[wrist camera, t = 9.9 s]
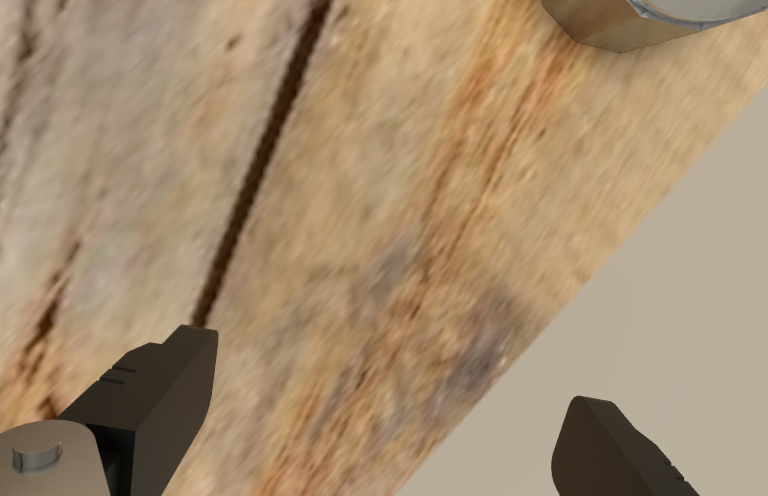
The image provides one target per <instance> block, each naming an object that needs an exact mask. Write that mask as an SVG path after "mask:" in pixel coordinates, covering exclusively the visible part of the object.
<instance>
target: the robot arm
mask: <svg viewBox="0 0 768 496" xmlns="http://www.w3.org/2000/svg"><path fill="white" fill-rule="evenodd" d="M217 348H218V332H217V330H211V329H206V328H200V327H194V326H189V325H180V326H179V327H178V328H177V329H176V330H175V331H174V332H173V333H172V334H171V335H170V336H169V337H168V338H167V339H166V341H165V342H164V343H163V344H157V343H151V342H150V343H147V344H145V345H143V346H141V347H138V348H136V349H134V350H131V351H129V352H127V353H126V354H125V355H124V356H123V357H122V358H121V359H120V360H118V361H117V362H116V363H115V364H114V365H113V366H112V369H109V370H108V371H107V372H105V373H104V374H103V375H102V376H101V377H100V380H99V381H96V382H95V383H93V384H92V385H91V386H90V387H89V388H88V389H87V390H86V391H85V392H84V393H83V394H82V395H80V396H79V397H78V398H77V399H76V400H75V401H74V402H73V403H72V404H71V405H70V406H69V407H67V408H66V409H65V410H64V411H63V412H62V413H61V414H60V415H59V416H58V417H57V418H56V419H54V420H44V421H37V422H32V423H27V424H24V425H20V426H17V427H14V428H12V429H10V430H7V431H5V432H3V433H1V434H0V496H161V495H162V493H163V491H164V490H165V488H166V486H167V485H168V483H169V481H170V479H171V478H172V476H173V474H174V473H175V471H176V469H177V467H178V466H179V464H180V462H181V460H182V459H183V457H184V455H185V454H186V452H187V450H188V448H189V447H190V445H191V443H192V442H193V440H194V438H195V436H196V435H197V433H198V431H199V429H200V428H201V426H202V424H203V422H204V420H205V417H206V415H207V412H208V409H209V405H210V401H211V396H212V388H213V380H214V372H215V364H216V356H217ZM551 470H552V477H553V481H554V484H555V487H556V489H557V491H558V493H559V495H560V496H699V495H698V493H697V492H696V491H695V490H694V489H693V488H692V486H691V485H690V484H689V483H688V482H686V481H684V477H683V476H682V475H681V473H680V472H679V471H678V470H677V469H676V468H675V466H671V462H670V461H669V459H668V458H667V457H666V456H665V455H664V453H663V452H662V451H661V450H660V449H659V448H658V446H657V445H656V444H654V443H653V442H652V441H650V440H649V439H648V438H647V437H645V436H644V435H643V434H641V433H640V432H639V431H638V430H636V429H635V428H634V427H633V426H632V424H631V423H630V422H629V421H628V419H627V418H626V417H625V416H624V415H623V414H622V412H621V411H620V410H619V409H618V407H617V406H616V405H615V404H614V403H612V402H611V401H606V400H600V399H594V398H589V397H584V396H576V397H574V398H573V399H572V401H571V403H570V405H569V407H568V410H567V413H566V416H565V419H564V422H563V425H562V428H561V431H560V434H559V437H558V440H557V443H556V446H555V449H554V452H553V456H552V463H551Z"/></svg>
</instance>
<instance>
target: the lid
mask: <svg viewBox="0 0 768 496" xmlns="http://www.w3.org/2000/svg"><path fill="white" fill-rule="evenodd" d="M633 1H634V2H636V3H637V4H638V5H640V6H641V7H642V8H644V9H645V10H647V11H649V12H651V13H653V14H655V15H657V16H659V17H662V18H665V19H668V20H671V21H676V22H682V23H699V24H701V23H710V22H717V21H721V20H725V19H729V18H732V17H736V16H739V15H743V14H746V13H749V12H751V11H754V10H756V9H759V8H761V7H764V6H765V5H767V4H768V0H633Z"/></svg>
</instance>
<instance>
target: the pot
mask: <svg viewBox="0 0 768 496" xmlns="http://www.w3.org/2000/svg"><path fill="white" fill-rule="evenodd" d="M542 4H543V7H544V8H545V9H546V10H547V11H548V12H549V13H550V14H551V15H552V16H553V18H554V19H555V20H556V21H557V22H558V23H559V24H560V25H561V26H562V27H563V28H564V30H565V31H566V32H567V33H568V34H569V35H570V36H571V37H572V38H573V39H574V41H575V42H578V43H583V44H587V45H591V46H595V47H599V48H603V49H607V50H611V51H615V52H619V53H623V52H627V51H631V50H635V49H638V48H642V47H646V46H649V45H653V44H657V43H660V42H664V41H668V40H671V39H675V38H679V37H682V36H686V35H690V34H694V33H697V32H701V31H704V30H707V29H710V28H713V27H716V26H719V25H722V24H725V23H728V22H732V21H735V20H738V19H741V18H744V17H747V16H750V15H753V14H756V13H759V12H762V11H765V10H766V9H767V8H768V4H767V5H765V6H764V7H761V8H759V9H756V10H754V11H751V12H749V13H746V14H743V15H739V16H736V17H732V18H729V19H725V20H721V21H717V22H710V23H701V24H699V23H682V22H676V21H671V20H668V19H665V18H662V17H659V16H657V15H655V14H653V13H651V12H649V11H647V10H645V9H644V8H642V7H641V6H640V5H638V4H637V3H636V2H634V1H633V0H542Z"/></svg>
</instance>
